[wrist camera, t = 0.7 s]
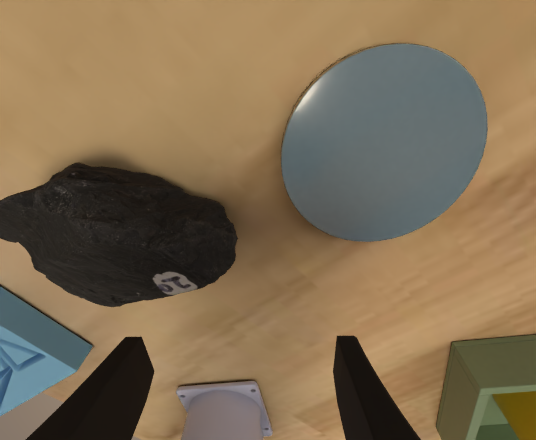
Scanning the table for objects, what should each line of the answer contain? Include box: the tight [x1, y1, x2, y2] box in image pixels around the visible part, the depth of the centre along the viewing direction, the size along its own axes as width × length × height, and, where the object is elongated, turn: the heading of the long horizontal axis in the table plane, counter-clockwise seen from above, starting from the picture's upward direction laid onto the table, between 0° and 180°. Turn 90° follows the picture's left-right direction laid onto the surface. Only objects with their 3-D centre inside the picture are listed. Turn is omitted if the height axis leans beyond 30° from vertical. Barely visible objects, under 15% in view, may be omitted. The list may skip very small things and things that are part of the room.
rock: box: [0, 163, 238, 307], centre depth 17 cm, size 9×10×6 cm
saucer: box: [281, 43, 487, 242], centre depth 17 cm, size 11×11×1 cm
